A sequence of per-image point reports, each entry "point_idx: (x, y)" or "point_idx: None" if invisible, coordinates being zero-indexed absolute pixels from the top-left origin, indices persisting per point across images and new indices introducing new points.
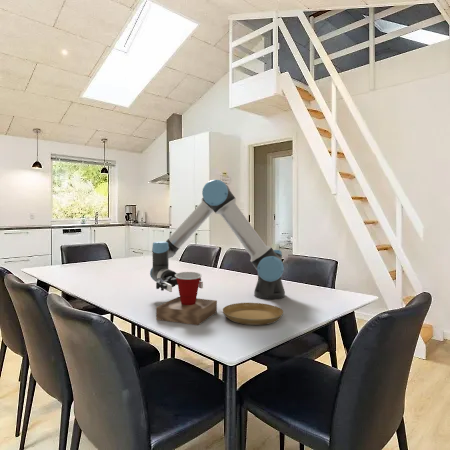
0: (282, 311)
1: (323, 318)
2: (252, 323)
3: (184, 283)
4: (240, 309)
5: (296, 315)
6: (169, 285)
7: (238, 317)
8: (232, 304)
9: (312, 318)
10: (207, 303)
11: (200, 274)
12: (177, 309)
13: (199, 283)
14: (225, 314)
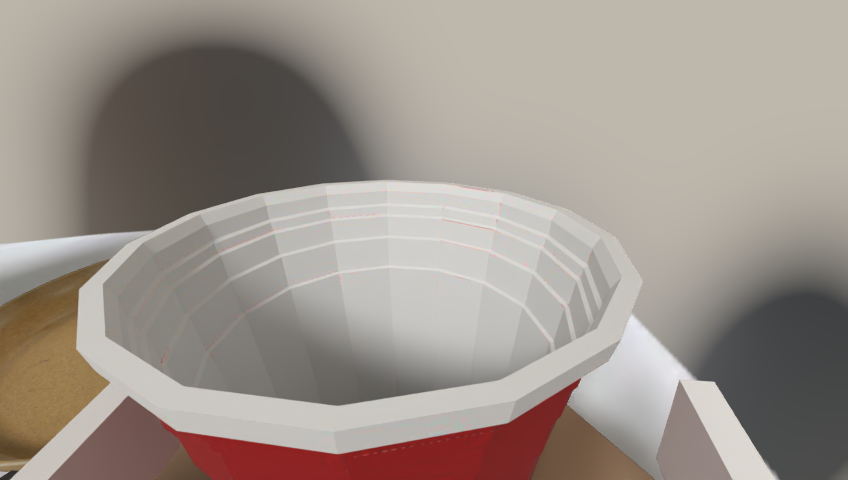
0: (93, 266)
1: (50, 245)
2: None
3: (503, 272)
4: (12, 460)
5: (33, 288)
6: (725, 412)
7: None
8: (22, 460)
9: (64, 255)
10: None
11: (198, 216)
12: (587, 423)
13: (142, 421)
14: None
